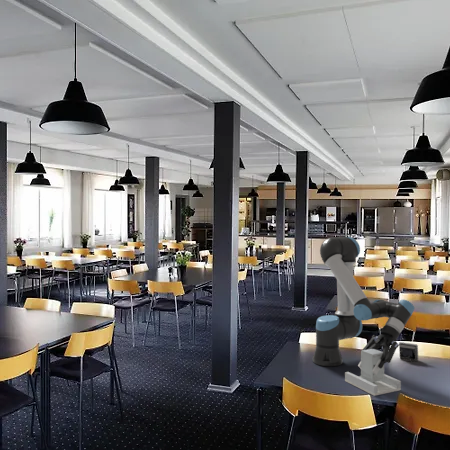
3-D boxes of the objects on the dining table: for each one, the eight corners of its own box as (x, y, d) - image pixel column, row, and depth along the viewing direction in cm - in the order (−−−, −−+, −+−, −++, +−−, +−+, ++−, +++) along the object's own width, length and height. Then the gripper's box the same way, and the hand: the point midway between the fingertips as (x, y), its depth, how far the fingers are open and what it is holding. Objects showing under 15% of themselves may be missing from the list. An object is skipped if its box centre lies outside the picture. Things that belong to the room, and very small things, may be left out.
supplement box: (372, 383, 201) (372, 354, 200) (360, 377, 207) (360, 350, 207) (384, 380, 204) (384, 352, 203) (372, 375, 210) (372, 347, 210)
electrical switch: (418, 360, 241) (418, 343, 240) (416, 364, 237) (416, 346, 236) (400, 357, 246) (399, 340, 245) (397, 361, 242) (397, 344, 241)
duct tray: (345, 381, 211) (345, 372, 211) (370, 376, 217) (370, 367, 217) (374, 395, 194) (374, 386, 194) (400, 390, 200) (400, 381, 200)
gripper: (414, 339, 204) (389, 382, 196) (379, 329, 222) (354, 368, 214) (406, 329, 201) (380, 372, 193) (371, 320, 219) (346, 359, 211)
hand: (366, 370), depth 204 cm, fingers closed on supplement box, 7 cm apart
